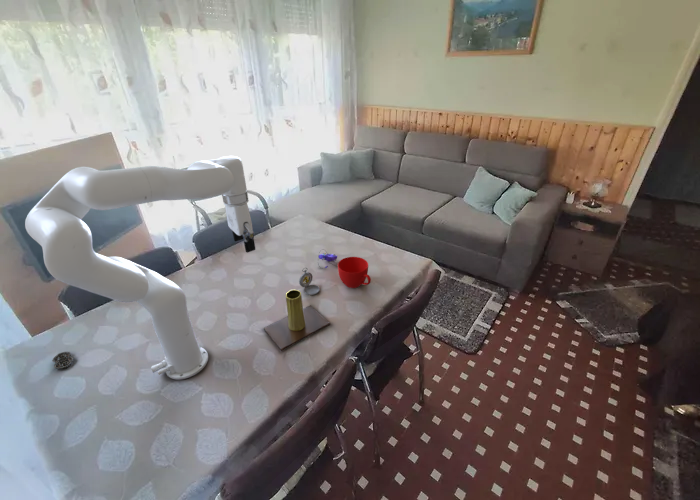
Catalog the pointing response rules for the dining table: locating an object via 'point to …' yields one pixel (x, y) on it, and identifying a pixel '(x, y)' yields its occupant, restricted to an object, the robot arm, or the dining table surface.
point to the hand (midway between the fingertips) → (244, 245)
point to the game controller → (328, 257)
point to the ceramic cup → (353, 271)
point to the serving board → (289, 337)
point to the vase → (295, 310)
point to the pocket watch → (308, 288)
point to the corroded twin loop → (62, 360)
